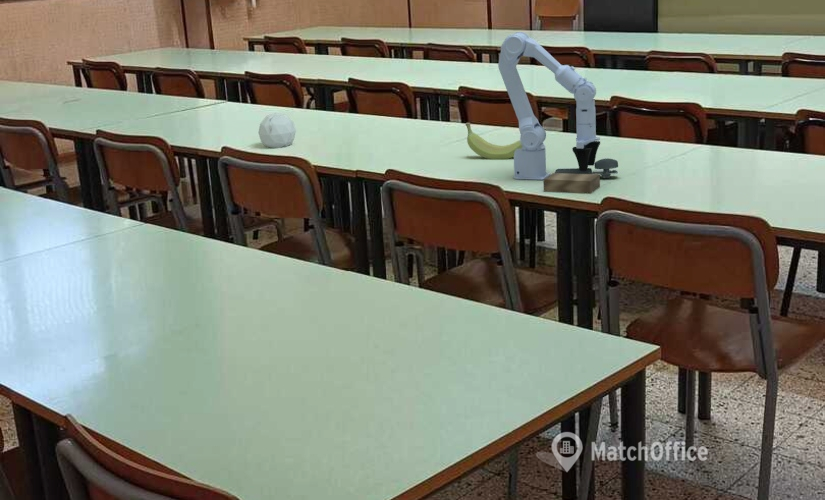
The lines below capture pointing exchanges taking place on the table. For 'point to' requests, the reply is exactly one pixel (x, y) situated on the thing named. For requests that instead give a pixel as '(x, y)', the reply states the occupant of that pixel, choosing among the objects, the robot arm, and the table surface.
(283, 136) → the geodesic sphere
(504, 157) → the banana
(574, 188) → the walnut block
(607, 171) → the can opener
